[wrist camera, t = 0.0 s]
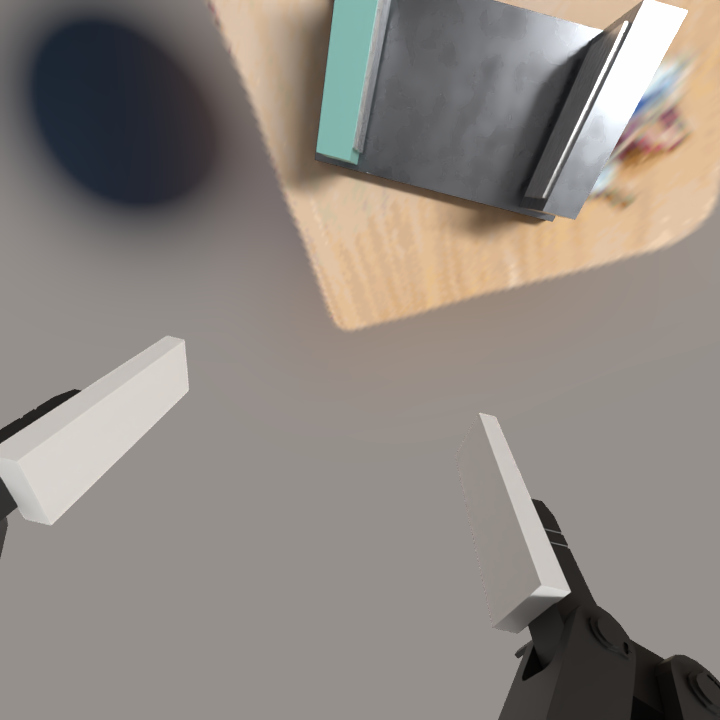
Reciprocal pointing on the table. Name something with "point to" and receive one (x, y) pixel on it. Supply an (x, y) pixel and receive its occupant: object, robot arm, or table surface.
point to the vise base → (506, 100)
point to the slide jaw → (351, 76)
